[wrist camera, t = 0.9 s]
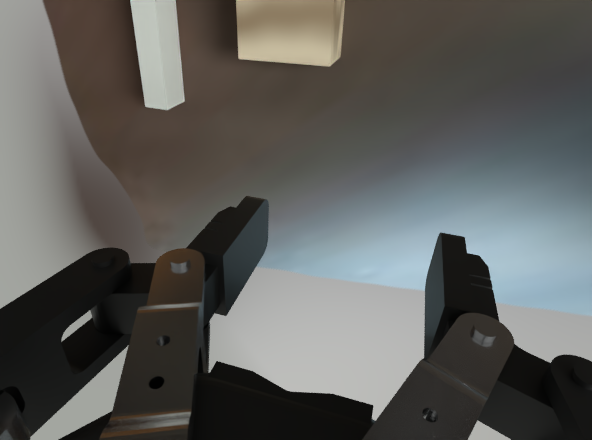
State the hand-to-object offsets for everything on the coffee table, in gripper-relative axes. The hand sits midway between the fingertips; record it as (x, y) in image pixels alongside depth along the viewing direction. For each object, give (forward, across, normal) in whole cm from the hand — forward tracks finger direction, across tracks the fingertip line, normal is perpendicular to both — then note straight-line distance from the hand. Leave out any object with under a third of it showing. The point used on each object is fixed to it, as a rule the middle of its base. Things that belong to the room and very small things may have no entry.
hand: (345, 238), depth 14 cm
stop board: (+28, +23, -5) cm, 36 cm away
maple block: (+28, +10, -5) cm, 30 cm away
